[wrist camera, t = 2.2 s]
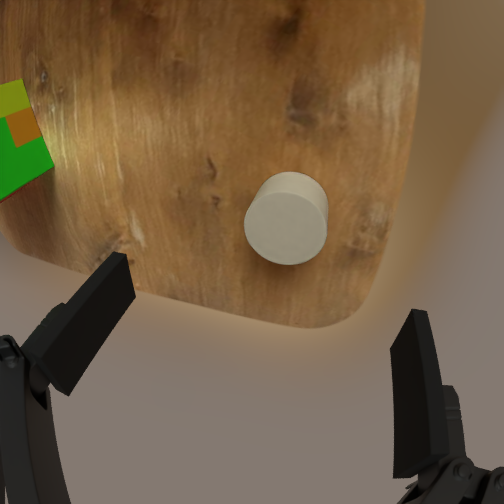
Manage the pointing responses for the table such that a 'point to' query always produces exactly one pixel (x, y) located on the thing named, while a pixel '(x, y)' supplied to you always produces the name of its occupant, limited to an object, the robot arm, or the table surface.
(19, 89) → the puzzle toy
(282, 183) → the cylinder
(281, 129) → the table surface
